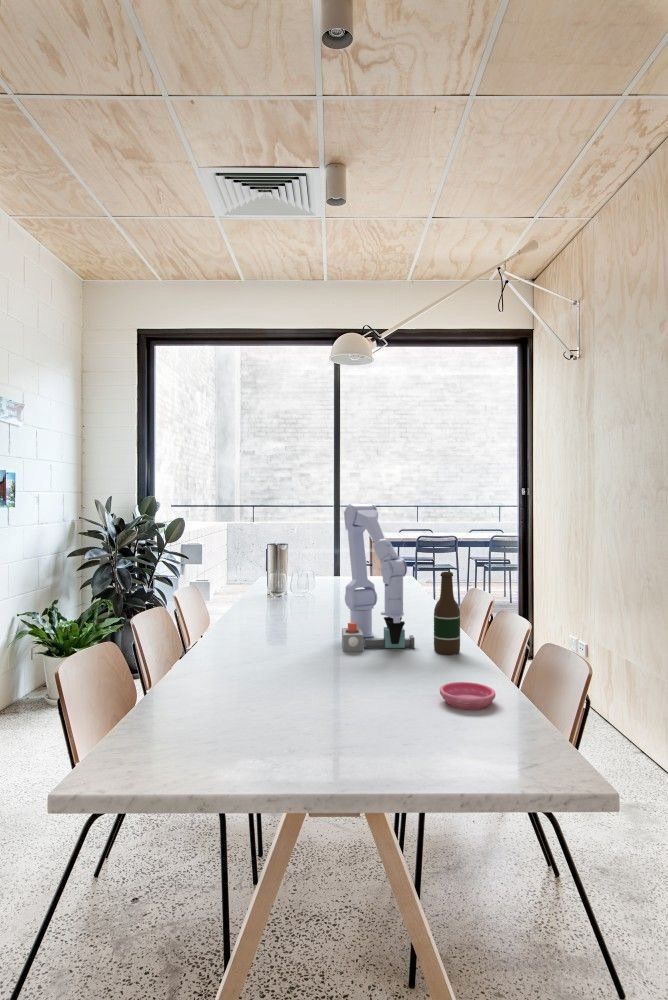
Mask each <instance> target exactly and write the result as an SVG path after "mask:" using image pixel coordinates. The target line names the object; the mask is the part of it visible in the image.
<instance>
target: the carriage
mask: <svg viewBox="0 0 668 1000" xmlns="http://www.w3.org/2000/svg"><path fill="white" fill-rule="evenodd" d="M405 631H406V629H404V627H403V628H402V631H401V635H400V640H399V644H392V643H391V638H390V632H389V628H388V627H387V626H385V627H384V626H383V638H385V648H384V649H400V648H401V649H402V648H405V638H406V633H405ZM405 649H406V648H405Z"/></svg>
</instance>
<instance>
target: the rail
mask: <svg viewBox="0 0 668 1000" xmlns="http://www.w3.org/2000/svg"><path fill="white" fill-rule="evenodd" d="M364 648H365V649H386V648H385V638H384V637H382V638H376V637H375V638H374V637H372V638H364ZM407 648H408V649H409V648H410V649H415V637H414V635H413V634H409V636H408V637H405V649H407Z"/></svg>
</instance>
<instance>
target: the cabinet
mask: <svg viewBox="0 0 668 1000" xmlns="http://www.w3.org/2000/svg"><path fill="white" fill-rule="evenodd" d="M341 646H342V647H341V648H342V650H343V653H345V652H349V653H350V652H351V653H352V652H364V637H363V633H362V630H361V628H357V633H348V627H346V628H345V627H343V628H342V627H341Z"/></svg>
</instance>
